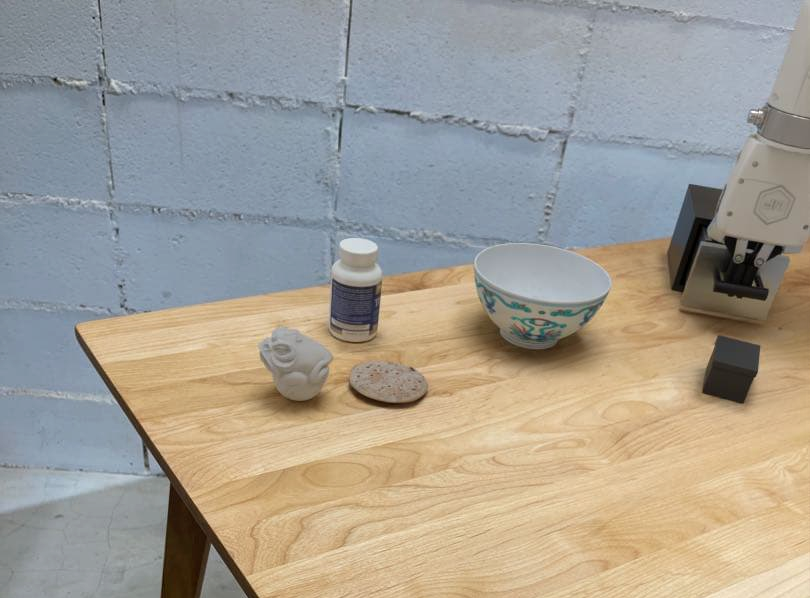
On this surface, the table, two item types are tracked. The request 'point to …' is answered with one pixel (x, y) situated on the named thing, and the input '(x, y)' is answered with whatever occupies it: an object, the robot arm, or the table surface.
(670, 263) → the cabinet
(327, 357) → the frog figurine
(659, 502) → the table surface
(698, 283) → the drawer
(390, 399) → the flatbread
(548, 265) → the chinaware
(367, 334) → the pill bottle
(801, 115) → the robot arm
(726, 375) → the dark grey block
